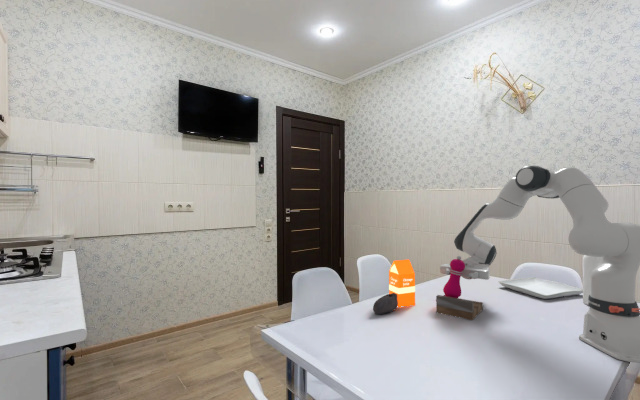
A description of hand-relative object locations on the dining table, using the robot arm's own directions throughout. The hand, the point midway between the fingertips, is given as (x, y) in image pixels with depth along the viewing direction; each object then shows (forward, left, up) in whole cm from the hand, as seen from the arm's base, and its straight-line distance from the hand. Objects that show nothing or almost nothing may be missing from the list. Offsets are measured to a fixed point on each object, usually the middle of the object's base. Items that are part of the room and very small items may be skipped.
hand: (459, 274), depth 137 cm
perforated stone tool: (-7, +31, -16) cm, 35 cm away
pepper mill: (+1, +4, -12) cm, 13 cm away
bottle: (+21, -61, -16) cm, 66 cm away
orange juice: (+6, +23, -16) cm, 29 cm away
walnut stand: (0, 0, -16) cm, 16 cm away
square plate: (+40, -47, -16) cm, 63 cm away
